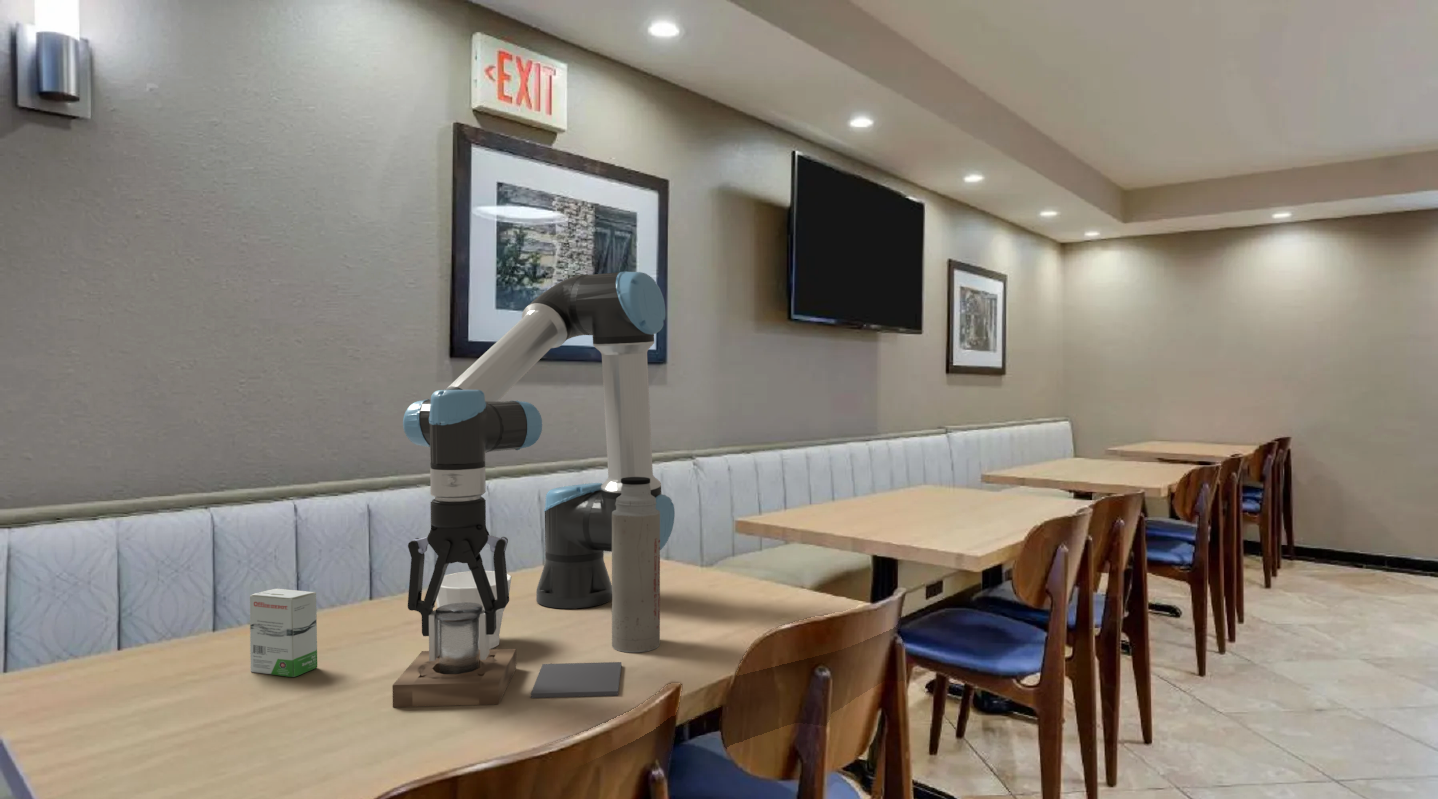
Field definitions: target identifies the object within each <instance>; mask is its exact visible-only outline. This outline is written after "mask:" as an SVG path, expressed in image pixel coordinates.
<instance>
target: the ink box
mask: <svg viewBox="0 0 1438 799" xmlns="http://www.w3.org/2000/svg"><path fill="white" fill-rule="evenodd" d="M317 619H318V618H317V592H315V591H305V590H295V589H285V588H284V589H283V588H277V587H276V588H272V589H267V590H264V591H260V592H255V593H252V594H250V595H249V624H250V626H249V627H250V628H249V631H250V632H249V634H250V635H249V640H250V641H249V642H250V644H249V645H250V648H249V649H250V650H249V652H250V653H249V654H250V657H249V658H250V672H251V673H256V674H257V673H258V674H264V675H265V674H266V675H273V676H281V677H287V678H297V677H298V676H301V675H302V674H303V675H304V674H305V673H308V672H309V671H312V670H315V669H317V668H318V637H317V636H318V626H317Z"/></svg>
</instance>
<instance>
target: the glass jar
mask: <svg viewBox="0 0 1438 799" xmlns="http://www.w3.org/2000/svg"><path fill="white" fill-rule="evenodd" d="M435 610H436V619H437V620H439V646H440V673H441V674H462V673H467V672H472V671H474V670H476V669H479V617H480V613H481V612H482V605H480V604H477V603H468V602H463V603H452V604H447V605H443V606H441V607H437V608H436V609H435Z"/></svg>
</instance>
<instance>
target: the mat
mask: <svg viewBox="0 0 1438 799" xmlns="http://www.w3.org/2000/svg"><path fill="white" fill-rule="evenodd" d="M621 673H622V661H613V662H612V661H611V662H610V661H609V662H605V661H604V662H568V663H567V662H566V663H562V662H561V663H542V665H541V668H540V669H539V672H538V674H537V676H536V680H535V682H534V685H533V687H532V689H531V692H530V698H531V699H533V698H534V699H535V698H536V699H537V698H538V699H539V698H567V697H569V698H570V697H571V698H572V697H573V698H574V697H575V698H576V697H608V696H619V690H620V682H621V681H620V680H621Z"/></svg>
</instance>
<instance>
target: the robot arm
mask: <svg viewBox="0 0 1438 799" xmlns="http://www.w3.org/2000/svg"><path fill="white" fill-rule="evenodd" d="M665 320H666V304H665V298H664V296H663V293H662V291H661V288H660V286H659V285H658V283H657V282H656V281H655V279H654V278H653V277H652V276H651V275H649V274H647V273H645V272H641V271H627V270H625V271H620V272H608V273H607V272H605V273H596V274H593V273H592V274H579V275H575V276H571V277H568V278H566V279H564V280H562V281H559V282H558V283H556V284H554V285H553V286H551V287H550V288H547V289H546V290H545V291H544V292H543V293H541V294H540V295H539V296H537V297H536V298H535V299H534V300H533V301H531V302H530V303H529V304H528V305H527V306H526V307H525V308H524V309H523V311H522V312H521V319H520V320H519V321H518V322H516V324H514V326H512V327H511V328H510V329H509V330H508V331H507V332H506V333H504V334H503V335H502V336H501V338H499V339H498V340H497V341H496V342H495V343H494V344H493V345H492V346H490V347H489V349H487V351H485V352H484V353H483V354H482V355H480V357H479V358H478V359H476V360H475V361H474V362H473V363H472V364H471V365H470V366H469V367H468V368H467V369H466V370H465V371H463V373H461V374H460V375H459V376H458V377H457V378H456V379H455V380H454V381H453V382H452V383H451V384H450V385H448V387H446V388H445V389H439V390H435V391H433V393H432V394H431V396H430V399H428V398H427V399H425V398H424V399H423V400H417V401H415V402H412V403H411V404H410V405H409V406H408V407H407V409H406V410H405V412H404V414H403V419H402V427H403V432H404V433H405V436H406V437H407V439H408V440H409V441H410V442H411V443H412V444H414V445H416V446H421V447H427V448H429V453H430V456H429V457H430V468H429V469H430V470H429V472H430V473H429V474H430V480H429V481H430V495H431V496H432V497H433V498H434V499H432V500H431V501H430V530H429V532H428V534H427V536H426V537H422V538H418V537H416V538H413V539H412V540H411V541H409V542H408V545H407V548H408V551H409V555H410V557H411V558H410V571H409V585H408V596H407V609H408V610H409V611H414V612H418V613H419V614H420V615H421V634H422V636H423V637H428V651H429V661H435V660H436V659H437V657H438V656H439V655H440V645H439V620H437V619H436V609H434V608H435V607H436V605H435V604H436V603H437V602H436V599H437V596H438V593H439V590H440V587H441V584H442V581H443V578H444V576H445V575H446V572H447V569H448V566H449V565H450V564H455V563H462V564H467V566H468V569H469V571H471V572H472V575H473V578H474V581H475V584H476V586H477V589H478V592H479V595H480V598H481V600H482V603H483V606H484V609H483V611H482V612H481V613H480V660H486V658H487V656H488V655H489V635H493V634H494V632H495V630H496V611H497V610H498V609H501V608H502V609H503V608H505V609H506V607H507V605H508V604H509V602H510V592H509V591H508V580H507V574H508V572H507V570H508V569H507V563H506V551H507V548H508V542H509V540H508V537H506V536H502V537H498V536H495V535H494V536H493V535H490V532H489V531H488V529H487V522H486V521H487V520H486V517H487V516H486V515H487V514H486V507H487V506H486V499H485V498H484V497H482V496H483V495H484V494H485V493H486V485H487V482H486V453H489V452H491V453H493V452H500V451H511V450H513V451H514V450H515V451H519V450H522V449H525V448H529V447H531V446H533V445H535V444H536V443H537V442H538V441H539V439H540V437H541V436H542V435H541V434H542V431H543V419H542V415H541V413H540V411H539V410H538V408H537V407H536V406H535V405H533V404H532V403H531V402H528V401H521V400H509V401H500V400H501V399H502V398H503V397H504V396H505V395H506V394H507V393H508V392H509V391H510V390H512V388H513V387H514V386H515V385H516V384H517V383H518V382H519V381H520V380H521V379H522V378H523V377H524V376H525V375H526V374H527V373H528V372H529V371H530V370H531V369H532V368H533V367H534V366H535V365H536V364H537V363H538V362H539V361H540V359H542V358H543V357H544V356H545V355H546V354H547V353H548V352H549V351H550V350H551V349H555V348H559V347H561V346H562V345H563V344H564V343H565V342H566V341H567V340H570V339H572V338H575V337H579V336H592V346H593V347H594V348H595V349H596V350H597V351H599V352H600V354H601V364H602V365H601V366H602V368H601V369H602V384H603V386H602V387H603V400H604V403H603V404H604V421H605V424H604V425H605V438H606V439H605V440H606V458H607V460H606V461H607V479H606V480H605V481H603V483H602V482H591V483H590V482H589V483H581V484H574V485H573V484H572V485H568V486H559V487H554V488H551V489H550V490H548V492H547V493H546V494H545V505H544V510H543V512H544V541H545V543H544V546H545V547H544V548H545V550H544V551H545V553H544V555H545V557H544V558H545V559H544V565H543V569H542V571H541V574H540V578H539V580H538V584H537V587H536V592H535V593H536V594H535V595H536V599H535V600H536V603H537V604H538V605H541V606H544V607H547V608H554V609H582V608H583V609H584V608H589V607H590V608H591V607H596V606H600V605H603V604H607V603H608V602H610V601H612V580H611V579H610V575H609V573H608V570H607V567H606V562H605V558H604V556H605V555H604V552H609V553H610V552H611V553H612V512H613V511H614V510H616V505H615V503H616V498H617V497H619V496H620V495H621V487H622V483H621V479H622V478H626V477H646V478H650V487H651V495H652V496H654V497H655V498H656V503H657V504H656V510H659V511H660V551H661V550H662V549H663V548H665V546H666V545H667V543H668V540H669V539H670V537H671V535H672V531H673V528H674V524H675V505H674V503H673V501H672V498H671V497H669V496H667V495H666V494H662V482H661V481H660V480H659V479H658V478H656V476H655V475H654V473H653V472H654V470H653V469H654V468H653V453H652V452H653V451H652V432H651V429H652V428H651V412H650V408H651V406H650V389H649V388H650V387H649V386H650V385H649V370H648V369H649V367H648V351H649V350H650V348H651V347H652V346H653V345H654V344H655V334H657V333H659V332H660V331H661V330H662V329H663V327H664V322H665ZM486 544H487V545H489V551H490V552H491V553H493V567H494V568H493V569H494V570H493V571H495V581H496V591H497V599H496V600H495V597H494V595H493V592H492V589H491V586H490V583H489V581H488V578H487V575H486V572H485V571H486V569H485V567H484V564H483V559H482V555H481V551H482V550H484V548H485V546H486ZM428 546H430V547H431V549H432V550H433V551H434V553H435V554H436V555H437V558H436V561H435V564H434V569H433V572H432V575H431V578H430V581H429V583H428V586H427V587H428V588H427V590H426V593H425V596H424V598H423V600H422V594H423V581H424V568H425V556H426V555H425V553H426V552H427V551H428Z"/></svg>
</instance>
